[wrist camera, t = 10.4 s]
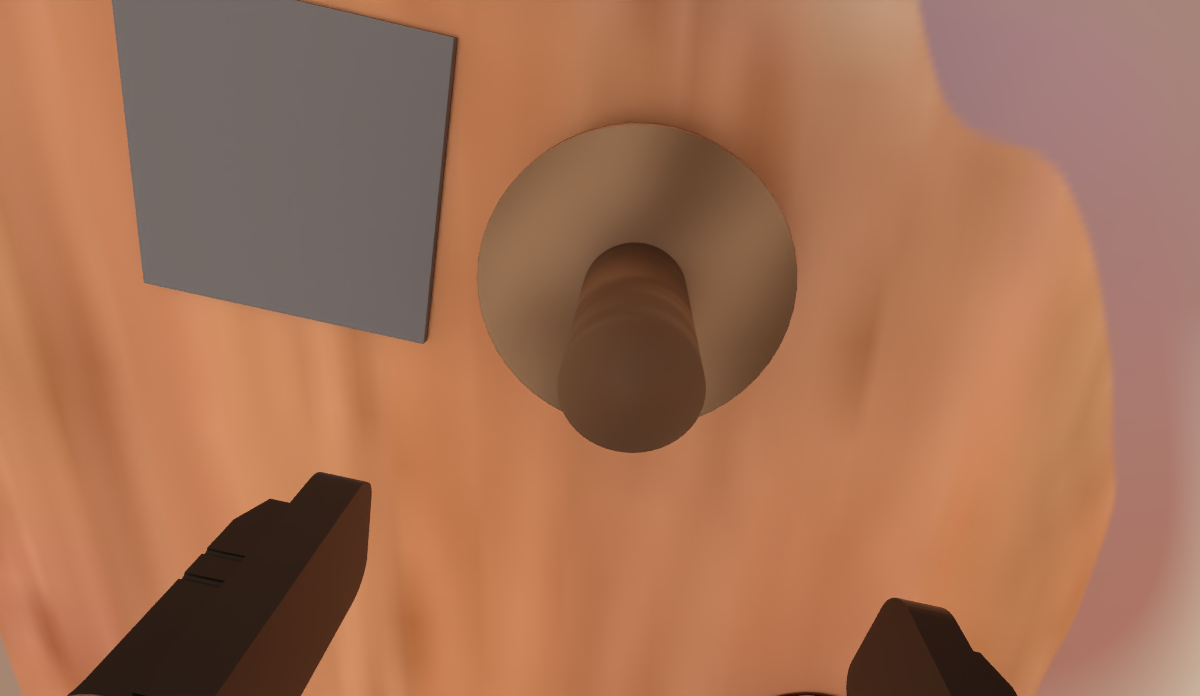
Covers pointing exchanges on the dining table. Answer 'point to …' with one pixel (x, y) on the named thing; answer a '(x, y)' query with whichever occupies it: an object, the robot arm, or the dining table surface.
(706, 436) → the dining table surface
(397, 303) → the coaster
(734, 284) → the lid
